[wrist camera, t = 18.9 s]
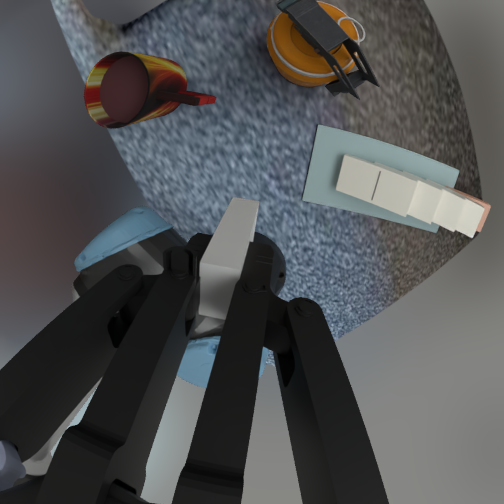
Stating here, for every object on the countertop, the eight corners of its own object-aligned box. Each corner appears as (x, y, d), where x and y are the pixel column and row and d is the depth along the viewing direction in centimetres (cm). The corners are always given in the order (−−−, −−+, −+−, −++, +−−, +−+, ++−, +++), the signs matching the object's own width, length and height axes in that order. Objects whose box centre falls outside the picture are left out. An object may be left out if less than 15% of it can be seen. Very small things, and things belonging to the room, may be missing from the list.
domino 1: (335, 190, 39) (405, 217, 35) (344, 155, 36) (417, 182, 32) (338, 187, 40) (405, 213, 36) (346, 153, 37) (417, 179, 33)
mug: (219, 102, 36) (192, 106, 26) (137, 123, 39) (93, 138, 29) (208, 42, 31) (177, 26, 21) (126, 70, 34) (78, 70, 24)
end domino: (439, 218, 38) (480, 232, 38) (450, 189, 35) (491, 206, 35) (434, 214, 40) (475, 227, 40) (445, 185, 37) (485, 201, 37)
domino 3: (392, 204, 39) (453, 232, 34) (403, 172, 36) (466, 200, 32) (393, 201, 40) (452, 228, 36) (403, 170, 37) (464, 197, 33)
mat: (302, 199, 43) (302, 200, 42) (318, 124, 36) (318, 124, 36) (435, 232, 42) (436, 233, 41) (458, 170, 35) (459, 170, 35)
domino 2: (364, 196, 39) (430, 224, 35) (374, 163, 36) (443, 191, 32) (366, 194, 40) (429, 220, 36) (375, 161, 37) (441, 188, 33)
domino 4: (416, 211, 38) (472, 238, 34) (427, 180, 36) (484, 208, 31) (416, 208, 40) (470, 234, 36) (426, 178, 37) (482, 205, 33)
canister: (309, 19, 28) (325, -40, 11) (360, 77, 31) (420, 67, 14) (260, 53, 31) (232, 16, 15) (311, 110, 35) (332, 124, 18)
